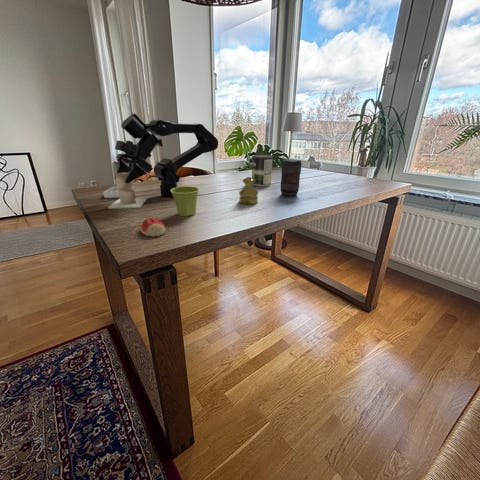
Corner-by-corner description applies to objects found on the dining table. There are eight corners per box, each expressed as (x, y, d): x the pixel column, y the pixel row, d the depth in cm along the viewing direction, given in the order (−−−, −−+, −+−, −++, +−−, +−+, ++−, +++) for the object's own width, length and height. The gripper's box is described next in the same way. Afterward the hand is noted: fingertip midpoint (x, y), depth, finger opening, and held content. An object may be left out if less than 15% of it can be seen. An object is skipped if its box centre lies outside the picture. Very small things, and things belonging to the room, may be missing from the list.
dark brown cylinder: (300, 194, 116) (303, 159, 110) (295, 198, 109) (299, 162, 103) (282, 192, 119) (285, 158, 113) (277, 196, 112) (279, 160, 106)
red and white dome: (147, 240, 71) (145, 228, 69) (137, 229, 78) (135, 217, 77) (170, 234, 74) (169, 223, 73) (159, 224, 82) (157, 213, 80)
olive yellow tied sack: (254, 205, 99) (255, 179, 95) (236, 203, 102) (236, 178, 98) (259, 200, 106) (260, 176, 102) (242, 199, 108) (243, 174, 104)
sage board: (146, 199, 106) (146, 198, 106) (139, 208, 96) (138, 206, 96) (119, 200, 105) (118, 198, 105) (108, 208, 95) (108, 207, 95)
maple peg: (131, 199, 104) (126, 171, 99) (139, 202, 101) (134, 173, 96) (118, 202, 100) (112, 173, 96) (125, 205, 97) (119, 175, 92)
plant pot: (194, 219, 85) (193, 193, 82) (168, 217, 87) (165, 192, 84) (204, 210, 94) (202, 187, 90) (179, 208, 96) (177, 185, 92)
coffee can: (253, 186, 129) (253, 157, 123) (250, 182, 138) (250, 154, 133) (273, 186, 130) (275, 157, 124) (268, 181, 140) (270, 154, 134)
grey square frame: (134, 192, 118) (133, 186, 116) (127, 197, 109) (126, 191, 108) (113, 192, 117) (112, 186, 116) (104, 198, 108) (103, 192, 107)
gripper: (116, 131, 98) (92, 163, 96) (138, 132, 86) (111, 170, 84) (139, 151, 107) (117, 182, 104) (162, 155, 95) (138, 190, 92)
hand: (120, 180), depth 96 cm, fingers open, 9 cm apart
